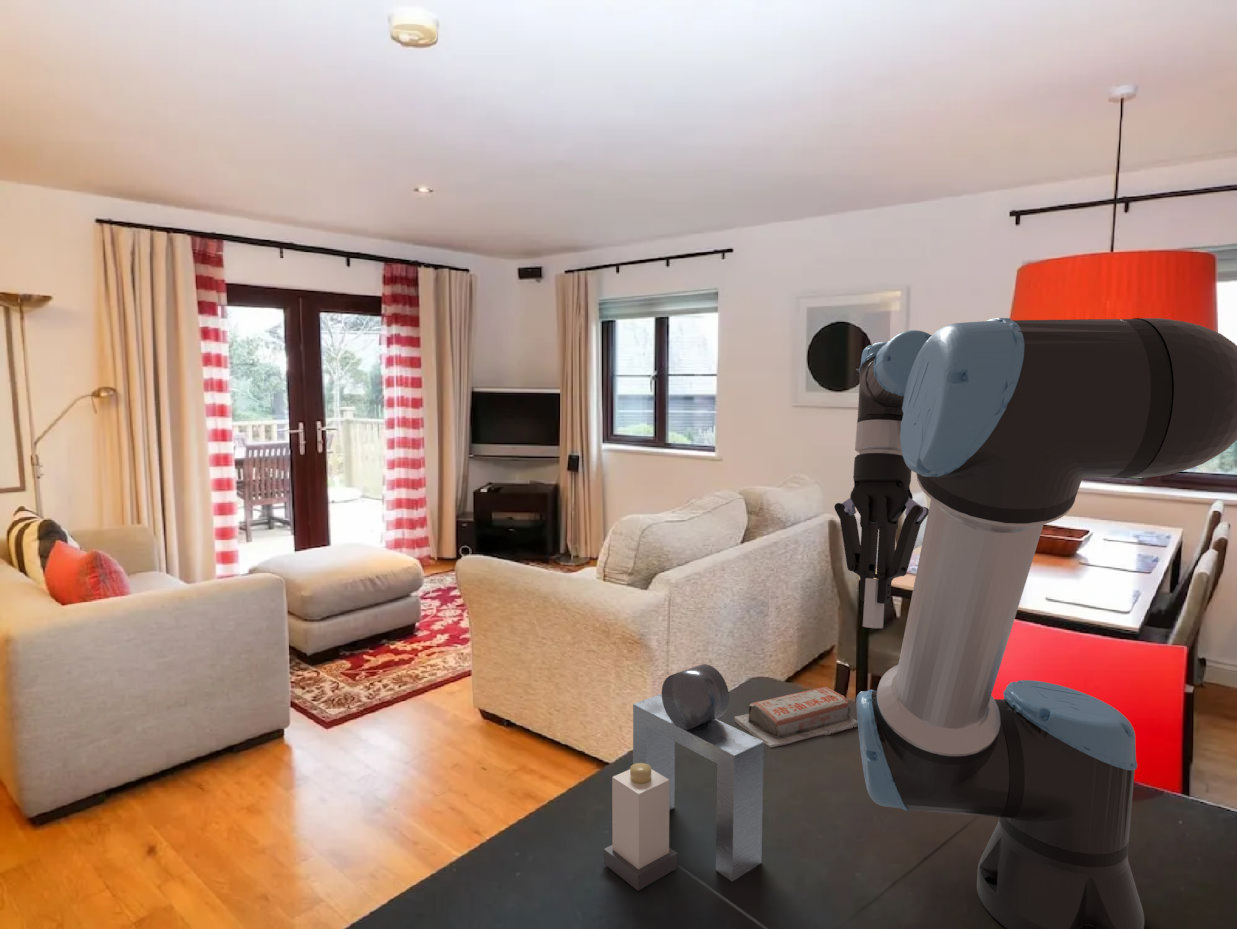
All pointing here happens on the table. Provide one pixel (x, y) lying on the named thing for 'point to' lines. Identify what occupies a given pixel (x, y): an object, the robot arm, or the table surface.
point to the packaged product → (797, 716)
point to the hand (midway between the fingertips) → (872, 627)
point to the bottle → (640, 827)
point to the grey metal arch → (737, 754)
